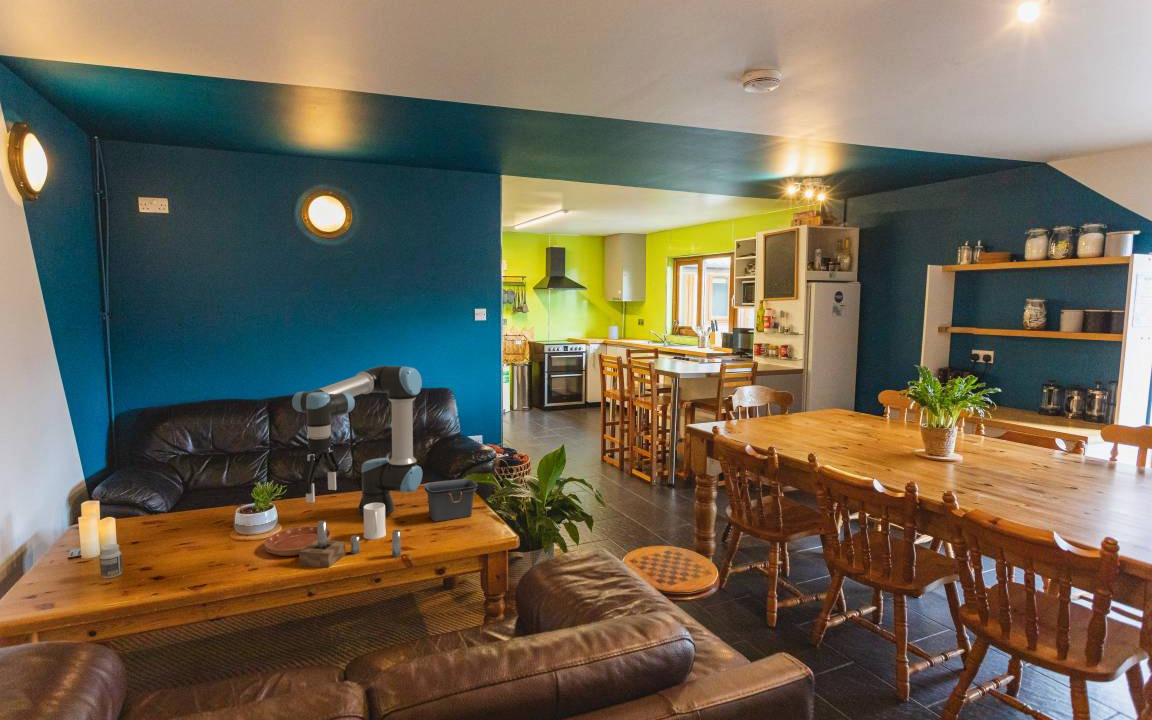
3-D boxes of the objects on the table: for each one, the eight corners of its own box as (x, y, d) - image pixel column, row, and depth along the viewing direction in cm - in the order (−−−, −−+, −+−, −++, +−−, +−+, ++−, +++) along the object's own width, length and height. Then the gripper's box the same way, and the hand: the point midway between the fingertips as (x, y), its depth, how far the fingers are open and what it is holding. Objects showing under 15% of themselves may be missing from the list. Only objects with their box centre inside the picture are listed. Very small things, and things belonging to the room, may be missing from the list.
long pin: (321, 558, 214) (320, 520, 213) (329, 558, 214) (328, 520, 213) (316, 561, 211) (315, 523, 210) (324, 562, 211) (323, 523, 210)
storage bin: (470, 508, 268) (469, 477, 267) (481, 519, 255) (481, 486, 253) (422, 515, 258) (422, 483, 257) (431, 527, 245) (431, 493, 243)
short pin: (353, 550, 221) (353, 534, 220) (361, 551, 221) (360, 535, 220) (349, 553, 218) (349, 538, 217) (357, 554, 218) (357, 538, 217)
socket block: (317, 552, 219) (317, 539, 218) (345, 554, 217) (345, 541, 217) (299, 565, 208) (299, 551, 208) (328, 567, 206) (328, 554, 206)
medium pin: (394, 553, 219) (394, 529, 218) (402, 554, 218) (402, 530, 218) (390, 556, 216) (390, 532, 215) (398, 557, 215) (398, 533, 215)
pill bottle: (108, 571, 201) (107, 543, 201) (126, 571, 202) (125, 543, 201) (96, 579, 196) (94, 550, 195) (115, 579, 196) (113, 550, 195)
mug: (386, 541, 230) (385, 511, 229) (362, 543, 227) (362, 513, 226) (386, 530, 241) (385, 501, 240) (363, 532, 238) (363, 503, 237)
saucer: (254, 561, 212) (254, 551, 211) (276, 536, 234) (276, 527, 234) (322, 557, 215) (322, 547, 215) (337, 533, 238) (337, 524, 237)
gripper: (329, 428, 221) (331, 484, 223) (287, 445, 197) (290, 507, 199) (348, 429, 220) (349, 485, 222) (308, 446, 196) (310, 508, 198)
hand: (321, 495), depth 211 cm, fingers open, 13 cm apart
